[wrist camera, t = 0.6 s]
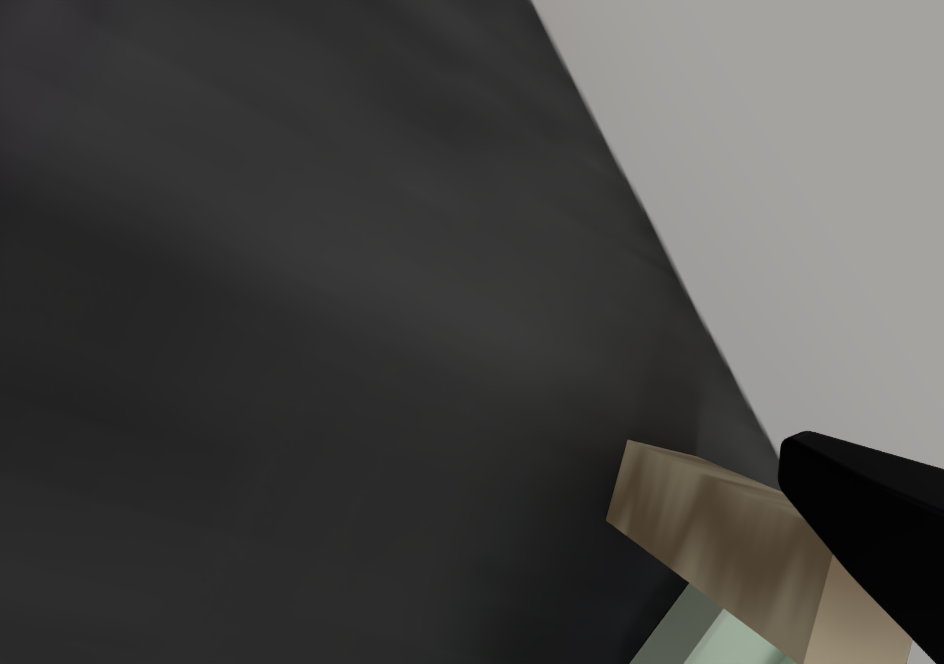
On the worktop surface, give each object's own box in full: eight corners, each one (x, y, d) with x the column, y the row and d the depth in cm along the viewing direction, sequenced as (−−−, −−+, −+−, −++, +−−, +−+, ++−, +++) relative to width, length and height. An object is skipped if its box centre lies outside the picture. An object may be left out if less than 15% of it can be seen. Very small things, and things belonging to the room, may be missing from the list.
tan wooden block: (675, 534, 31) (901, 680, 19) (605, 520, 30) (802, 667, 18) (696, 456, 31) (935, 556, 19) (627, 439, 30) (838, 535, 18)
